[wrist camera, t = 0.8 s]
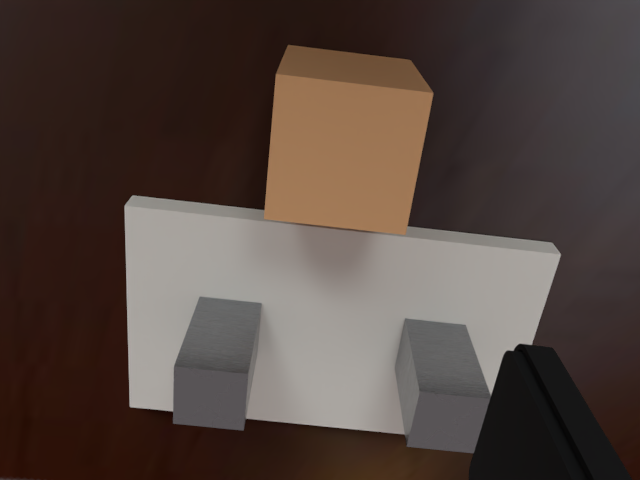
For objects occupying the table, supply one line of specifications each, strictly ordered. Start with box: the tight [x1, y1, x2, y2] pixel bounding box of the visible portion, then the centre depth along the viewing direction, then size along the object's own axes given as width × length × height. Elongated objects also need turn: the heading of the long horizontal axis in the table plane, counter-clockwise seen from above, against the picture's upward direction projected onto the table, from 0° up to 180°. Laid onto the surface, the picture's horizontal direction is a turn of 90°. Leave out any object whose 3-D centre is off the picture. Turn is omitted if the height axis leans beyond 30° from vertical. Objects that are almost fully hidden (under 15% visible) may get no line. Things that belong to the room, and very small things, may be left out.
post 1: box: [173, 297, 262, 431], centre depth 34 cm, size 4×4×8 cm
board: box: [125, 195, 561, 434], centre depth 37 cm, size 14×24×2 cm, turn 83°
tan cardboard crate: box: [264, 45, 433, 235], centre depth 29 cm, size 6×6×8 cm
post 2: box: [395, 318, 491, 453], centre depth 34 cm, size 4×4×8 cm
